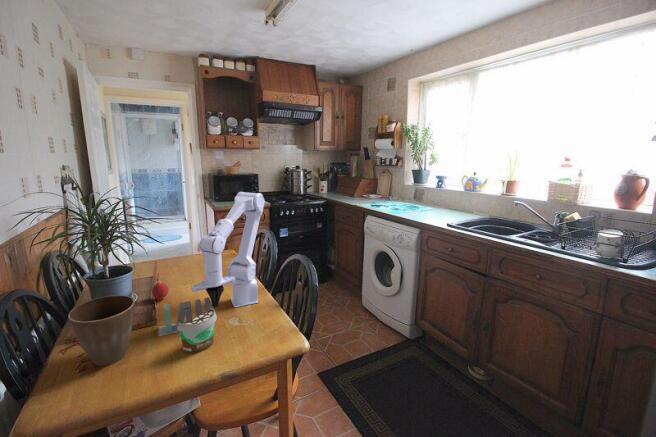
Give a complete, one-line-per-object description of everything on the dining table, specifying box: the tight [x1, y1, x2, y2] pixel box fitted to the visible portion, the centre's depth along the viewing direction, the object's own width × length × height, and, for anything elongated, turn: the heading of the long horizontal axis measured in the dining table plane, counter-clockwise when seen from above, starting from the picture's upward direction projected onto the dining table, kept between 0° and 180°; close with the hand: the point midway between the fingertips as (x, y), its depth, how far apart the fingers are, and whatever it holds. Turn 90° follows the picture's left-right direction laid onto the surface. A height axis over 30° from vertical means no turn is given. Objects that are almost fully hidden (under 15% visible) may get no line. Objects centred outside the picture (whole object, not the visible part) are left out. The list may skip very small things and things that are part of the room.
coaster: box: [158, 322, 180, 337], centre depth 105 cm, size 6×6×1 cm
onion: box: [151, 280, 169, 301], centre depth 125 cm, size 6×6×8 cm
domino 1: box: [163, 303, 172, 333], centre depth 104 cm, size 2×4×8 cm, turn 27°
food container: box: [177, 307, 218, 354], centre depth 95 cm, size 12×6×10 cm, turn 148°
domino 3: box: [184, 300, 193, 322], centre depth 107 cm, size 2×4×8 cm, turn 28°
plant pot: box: [67, 294, 135, 367], centre depth 88 cm, size 15×15×16 cm
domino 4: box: [194, 298, 203, 316], centre depth 108 cm, size 2×4×8 cm, turn 28°
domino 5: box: [203, 297, 212, 313], centre depth 110 cm, size 2×4×8 cm, turn 27°
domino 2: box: [176, 301, 186, 331], centre depth 106 cm, size 2×4×8 cm, turn 28°
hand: (215, 305), depth 110 cm, fingers closed
